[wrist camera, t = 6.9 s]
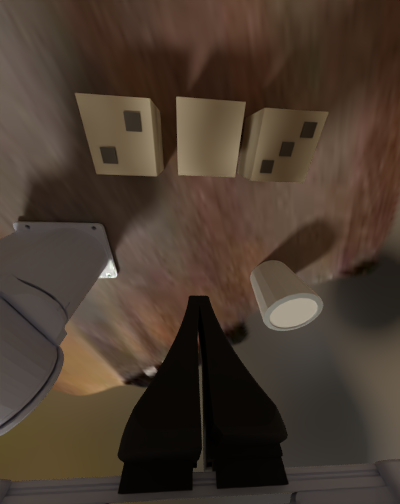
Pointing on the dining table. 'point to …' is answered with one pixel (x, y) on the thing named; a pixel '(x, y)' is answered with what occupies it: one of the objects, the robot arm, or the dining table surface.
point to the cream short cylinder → (283, 297)
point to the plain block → (208, 136)
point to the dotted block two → (122, 134)
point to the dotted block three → (280, 144)
